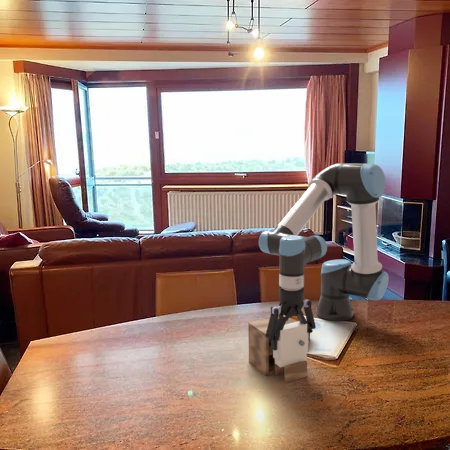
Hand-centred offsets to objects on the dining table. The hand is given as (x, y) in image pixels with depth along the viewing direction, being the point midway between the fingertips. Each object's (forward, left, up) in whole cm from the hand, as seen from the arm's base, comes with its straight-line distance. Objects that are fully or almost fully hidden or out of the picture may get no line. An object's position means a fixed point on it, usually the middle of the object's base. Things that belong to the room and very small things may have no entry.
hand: (290, 354), depth 139 cm
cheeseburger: (-20, +17, -7) cm, 28 cm away
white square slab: (0, 0, -2) cm, 2 cm away
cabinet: (-6, 0, -7) cm, 9 cm away
